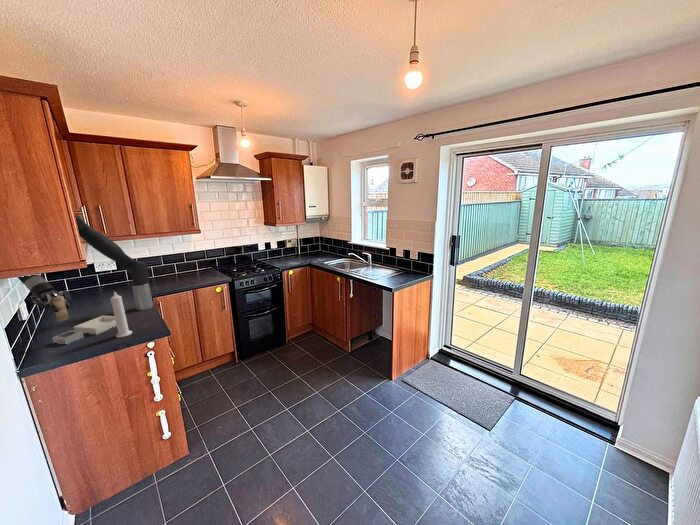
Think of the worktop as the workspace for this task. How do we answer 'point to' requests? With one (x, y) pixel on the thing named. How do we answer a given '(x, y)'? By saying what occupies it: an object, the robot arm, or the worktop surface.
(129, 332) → the candle
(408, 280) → the worktop surface
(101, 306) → the worktop surface
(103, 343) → the worktop surface
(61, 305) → the peg
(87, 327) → the tray
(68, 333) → the collar
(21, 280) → the robot arm
